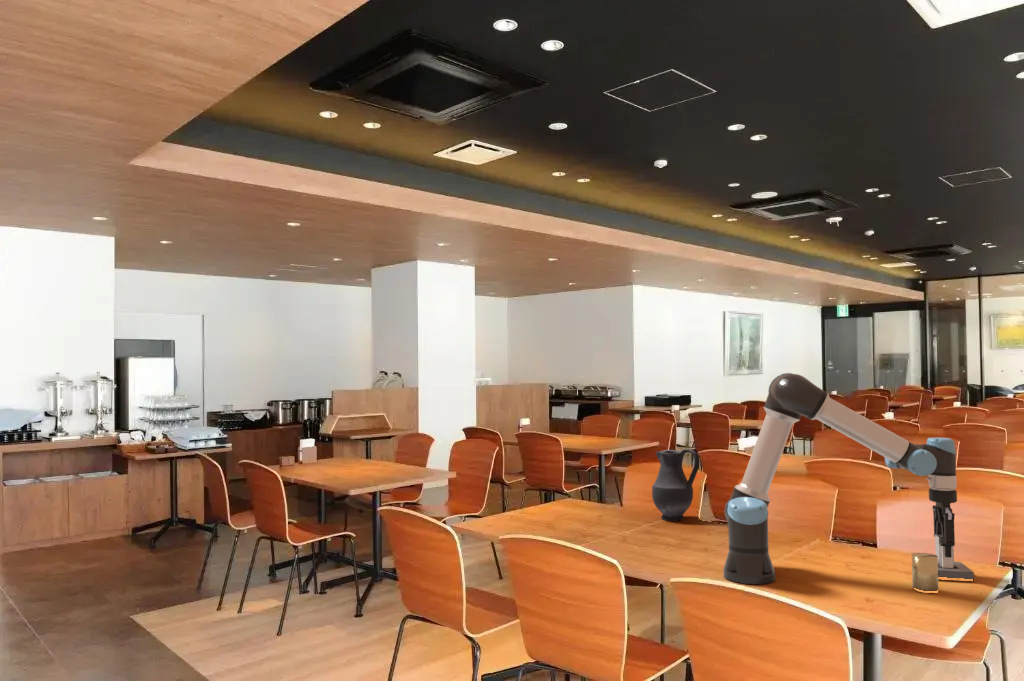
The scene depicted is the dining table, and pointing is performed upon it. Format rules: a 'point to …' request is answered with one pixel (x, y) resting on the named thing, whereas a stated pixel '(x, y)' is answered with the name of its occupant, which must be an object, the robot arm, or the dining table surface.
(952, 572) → the bore block
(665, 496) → the pitcher
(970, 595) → the dining table surface
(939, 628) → the dining table surface
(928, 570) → the round bit
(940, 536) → the square bit
